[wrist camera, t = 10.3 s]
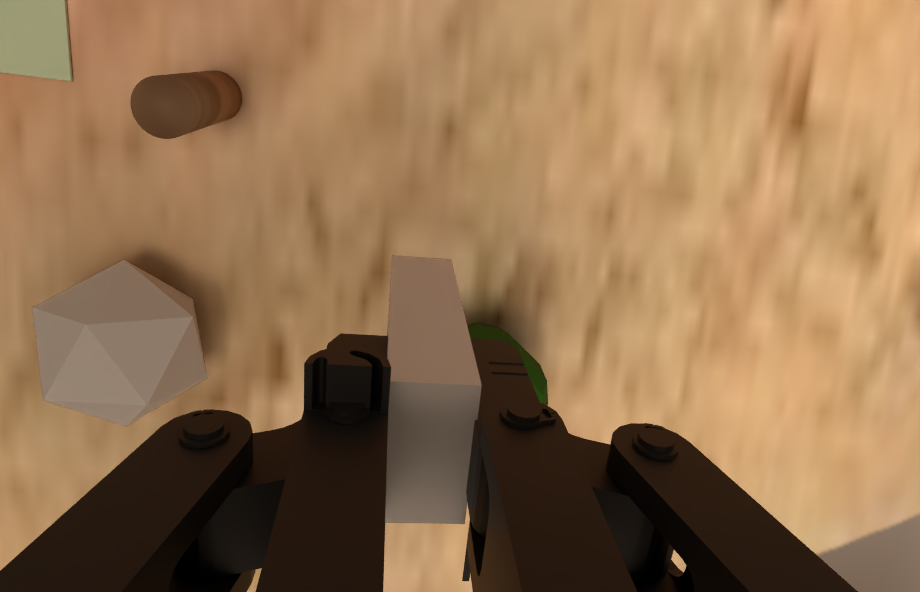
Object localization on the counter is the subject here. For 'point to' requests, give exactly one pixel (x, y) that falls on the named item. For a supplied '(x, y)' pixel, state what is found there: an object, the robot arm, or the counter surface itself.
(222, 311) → the counter surface
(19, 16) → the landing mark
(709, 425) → the counter surface
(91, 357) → the die
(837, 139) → the counter surface
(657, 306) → the counter surface
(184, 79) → the gate post
